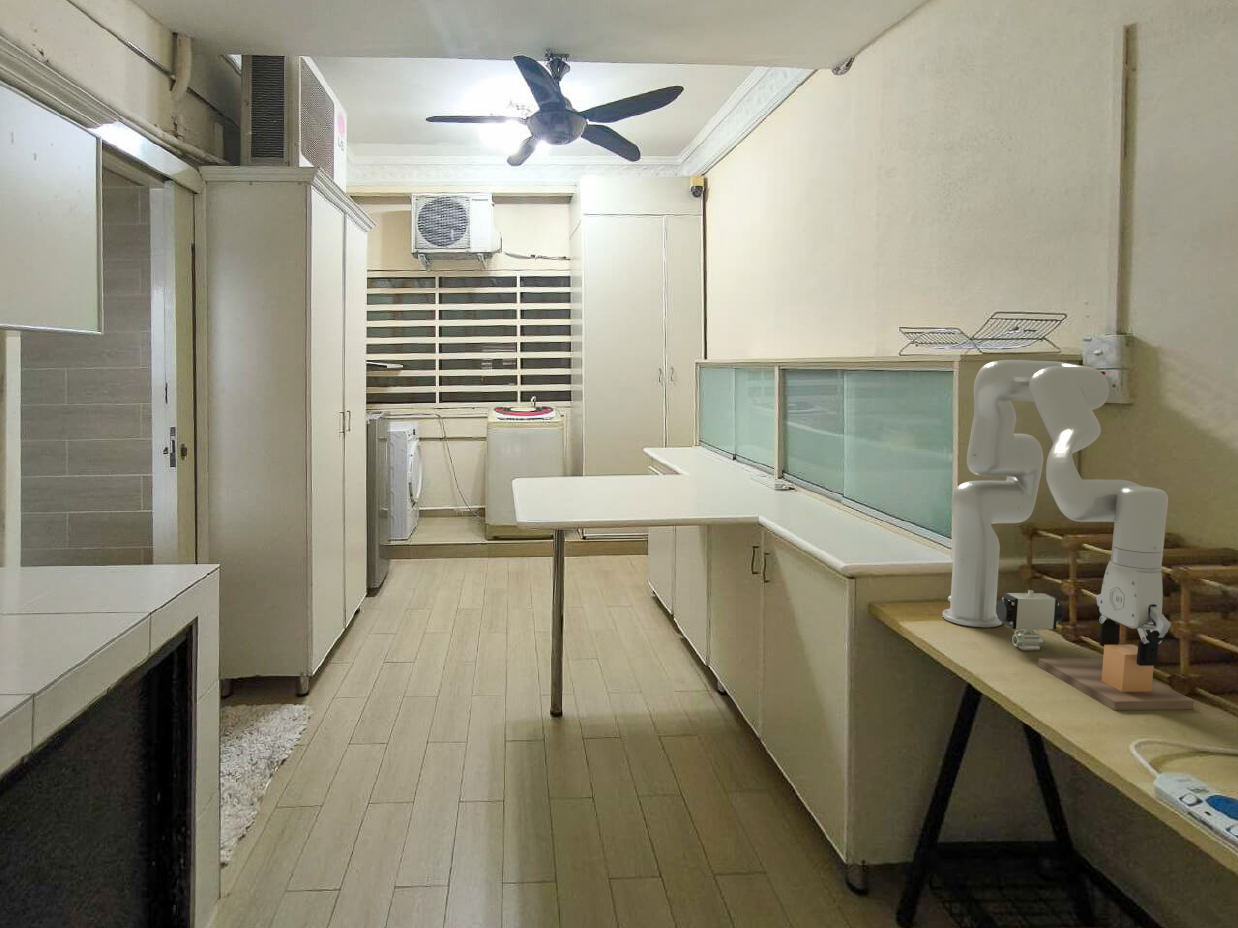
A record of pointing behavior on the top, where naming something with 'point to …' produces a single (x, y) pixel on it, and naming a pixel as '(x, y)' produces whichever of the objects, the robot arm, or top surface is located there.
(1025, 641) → the pneumatic valve
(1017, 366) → the robot arm
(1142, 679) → the peach foam cube
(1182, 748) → the top surface
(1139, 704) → the brown wooden board
